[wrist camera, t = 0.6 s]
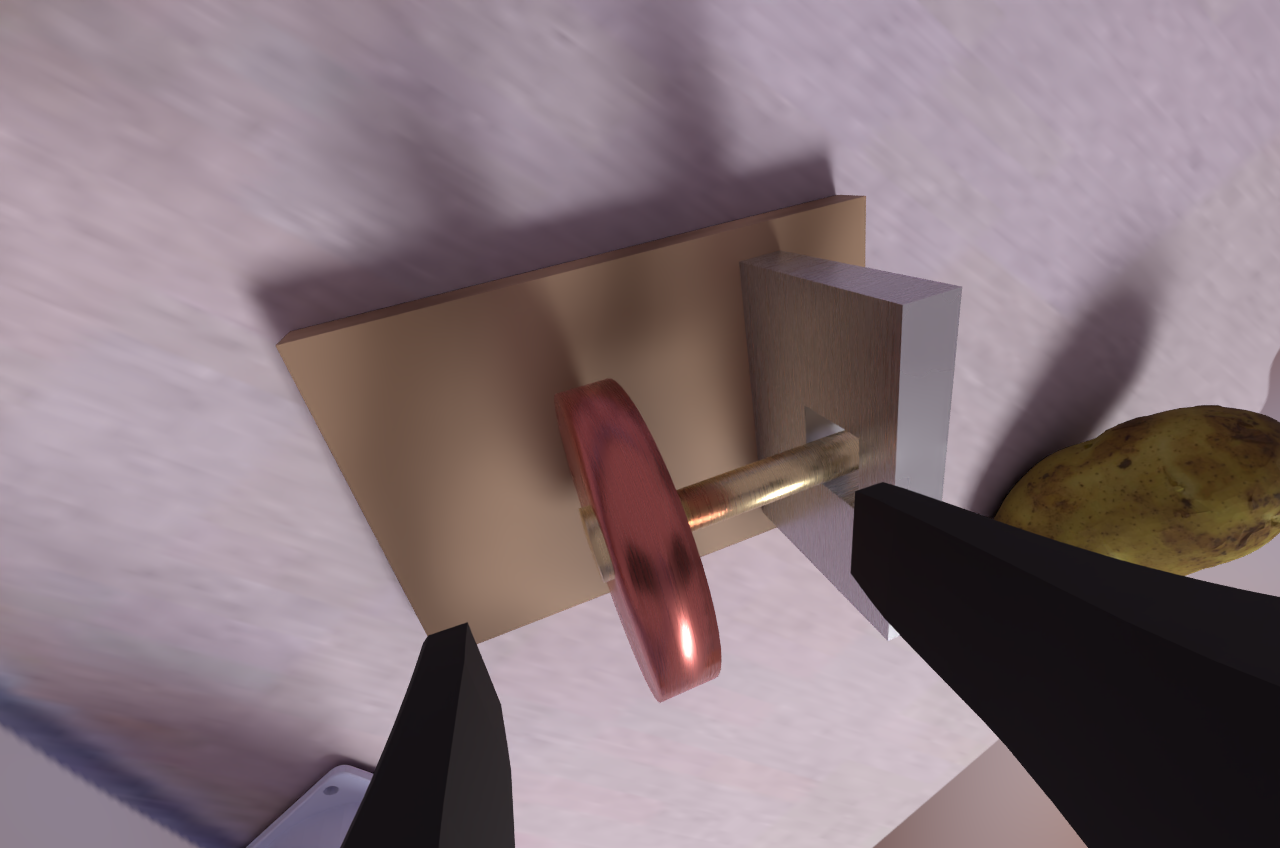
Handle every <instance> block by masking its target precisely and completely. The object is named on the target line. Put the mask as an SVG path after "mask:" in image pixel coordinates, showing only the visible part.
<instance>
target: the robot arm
mask: <svg viewBox="0 0 1280 848" xmlns="http://www.w3.org/2000/svg"><path fill="white" fill-rule="evenodd" d="M850 573H851V575H852V576H853V577H854V579H855V580H856V582H857V583H858V584H859V586H860V587H861V588H862V590H863V591H864V593H865V594H866V595H867V597H868V598H869V599H870V601H871V602H872V603H873V604H874V606H875V607H876V608H877V610H878V611H879V612H880V613H881V615H882V616H883V617H884V619H885V620H886V621H887V622H888V623H889V624H890V625H891V626H892V627H893V628H894V629H895V630H896V631H897V632H898V634H899V635H900V636H901V637H902V638H903V639H904V640H905V641H906V642H907V643H908V644H909V645H910V646H911V647H912V648H913V649H914V650H915V651H916V652H917V653H918V654H919V655H920V656H921V657H922V659H923V660H924V661H925V662H926V663H927V664H928V665H929V666H930V667H931V668H932V669H933V670H934V671H935V672H936V673H937V674H938V675H939V676H940V677H941V678H942V679H943V680H944V681H945V682H946V683H947V684H948V685H949V686H950V687H951V688H952V689H953V690H954V691H955V692H956V693H957V694H958V695H959V696H960V698H961V699H962V700H963V701H964V702H965V703H966V704H967V705H968V706H969V707H970V708H971V709H972V710H973V711H974V712H975V713H976V714H977V715H978V716H979V717H980V718H981V719H982V720H983V721H984V722H985V723H986V724H987V726H988V727H989V728H990V729H991V730H992V731H993V732H994V733H995V734H996V735H997V737H998V738H999V739H1000V740H1001V741H1002V742H1003V743H1004V744H1005V745H1006V746H1007V748H1008V749H1009V750H1010V751H1011V752H1012V754H1013V755H1014V756H1015V757H1016V758H1017V760H1018V761H1019V762H1020V763H1021V765H1022V766H1023V767H1024V768H1025V769H1026V771H1027V772H1028V773H1029V774H1030V776H1031V777H1032V778H1033V779H1034V780H1035V782H1036V783H1037V784H1038V785H1039V786H1040V788H1041V789H1042V790H1043V791H1044V792H1045V794H1046V795H1047V796H1048V797H1049V798H1050V799H1051V801H1052V802H1053V803H1054V805H1055V806H1056V807H1057V809H1058V810H1059V811H1060V812H1061V814H1062V815H1063V816H1064V817H1065V819H1066V820H1067V821H1068V823H1069V824H1070V825H1071V827H1072V828H1073V829H1074V830H1075V831H1076V833H1077V834H1078V835H1079V837H1080V838H1081V839H1082V840H1083V842H1084V843H1085V844H1086V846H1087V847H1088V848H1280V597H1277V596H1272V595H1267V594H1261V593H1256V592H1251V591H1246V590H1242V589H1237V588H1233V587H1228V586H1223V585H1219V584H1214V583H1210V582H1206V581H1201V580H1197V579H1193V578H1189V577H1185V576H1181V575H1177V574H1173V573H1169V572H1165V571H1161V570H1157V569H1154V568H1150V567H1146V566H1142V565H1138V564H1134V563H1130V562H1127V561H1123V560H1120V559H1116V558H1112V557H1109V556H1106V555H1102V554H1099V553H1096V552H1092V551H1089V550H1086V549H1082V548H1079V547H1076V546H1073V545H1069V544H1066V543H1063V542H1059V541H1056V540H1053V539H1050V538H1047V537H1044V536H1041V535H1038V534H1035V533H1032V532H1029V531H1026V530H1023V529H1020V528H1017V527H1014V526H1011V525H1008V524H1005V523H1002V522H999V521H996V520H994V519H991V518H988V517H985V516H982V515H979V514H976V513H974V512H971V511H968V510H965V509H962V508H960V507H957V506H954V505H951V504H948V503H945V502H943V501H940V500H937V499H934V498H931V497H928V496H925V495H923V494H920V493H917V492H914V491H911V490H908V489H905V488H902V487H898V486H895V485H892V484H888V483H885V482H881V483H878V484H875V485H872V486H869V487H866V488H863V489H860V490H857V491H855V502H854V519H853V537H852V554H851V572H850ZM246 848H515V838H514V818H513V799H512V780H511V767H510V760H509V753H508V747H507V740H506V733H505V727H504V721H503V715H502V708H501V704H500V701H499V699H498V696H497V694H496V691H495V689H494V686H493V684H492V681H491V679H490V676H489V674H488V671H487V669H486V666H485V664H484V661H483V659H482V656H481V654H480V651H479V649H478V647H477V644H476V642H475V639H474V637H473V634H472V632H471V629H470V627H469V624H468V622H466V623H463V624H460V625H457V626H454V627H451V628H449V629H446V630H443V631H440V632H437V633H434V634H431V635H428V637H427V638H426V640H425V641H424V643H423V645H422V649H421V652H420V655H419V658H418V661H417V663H416V666H415V669H414V672H413V675H412V678H411V681H410V683H409V686H408V689H407V692H406V694H405V697H404V700H403V702H402V705H401V707H400V710H399V713H398V715H397V718H396V721H395V723H394V726H393V728H392V731H391V733H390V735H389V738H388V740H387V743H386V745H385V748H384V750H383V752H382V755H381V757H380V760H379V762H378V764H377V767H376V769H375V772H374V774H373V773H370V772H367V771H364V770H361V769H359V768H356V767H353V766H350V765H340V766H337V767H335V768H333V769H332V770H330V771H329V772H328V773H327V774H326V775H325V776H324V777H323V778H321V779H320V780H319V781H318V782H317V783H316V784H315V785H314V786H313V787H312V788H311V789H309V790H308V791H307V792H306V793H305V794H304V795H303V796H302V797H301V798H300V799H298V800H297V801H296V802H295V803H294V804H293V805H292V806H291V807H290V808H289V809H287V810H286V811H285V812H284V813H283V814H282V815H281V816H280V817H279V818H278V819H277V820H275V821H274V822H273V823H272V824H271V825H270V826H269V827H268V828H267V829H266V830H264V831H263V832H262V833H261V834H260V835H259V836H258V837H257V838H256V839H255V840H253V841H252V842H251V843H250V844H249V845H248V846H247V847H246Z"/></svg>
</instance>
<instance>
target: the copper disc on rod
mask: <svg viewBox="0 0 1280 848" xmlns="http://www.w3.org/2000/svg"><path fill="white" fill-rule="evenodd" d="M554 405H555V412H556V417H557V422H558V426H559V430H560V435H561V439H562V442H563V446H564V450H565V454H566V457H567V461H568V465H569V468H570V472H571V475H572V478H573V482H574V485H575V488H576V492H577V495H578V498H579V501H580V505H581V508H579V514H580V518H581V522H582V525H583V529H584V532H585V535H586V538H587V541H588V544H589V547H590V550H591V553H592V556H593V559H594V562H595V564H596V567H597V570H598V572H599V575H600V577H601V580H602V582H603V583H605V582H607V585H608V588H609V590H610V593H611V596H612V599H613V601H614V604H615V607H616V609H617V612H618V615H619V617H620V620H621V623H622V625H623V628H624V630H625V633H626V635H627V638H628V640H629V643H630V645H631V648H632V650H633V653H634V655H635V658H636V660H637V662H638V664H639V667H640V669H641V671H642V673H643V676H644V678H645V680H646V682H647V684H648V686H649V688H650V690H651V692H652V693H653V695H654V697H655V698H656V700H657V701H658V702H663V701H665V700H667V699H669V698H672V697H674V696H676V695H678V694H681V693H683V692H685V691H687V690H690V689H692V688H694V687H697V686H699V685H701V684H703V683H706V682H708V681H710V680H712V679H715V678H716V677H718V675H719V673H720V670H721V645H720V638H719V631H718V626H717V620H716V615H715V610H714V606H713V602H712V598H711V594H710V590H709V586H708V583H707V579H706V575H705V572H704V568H703V565H702V562H701V559H700V555H699V552H698V549H697V546H696V543H695V540H694V537H693V534H692V532H695V531H697V530H700V529H703V528H705V527H708V526H711V525H713V524H716V523H719V522H721V521H724V520H727V519H729V518H732V517H734V516H737V515H740V514H742V513H745V512H748V511H750V510H753V509H756V508H758V507H761V506H764V505H766V504H769V503H772V502H774V501H777V500H779V499H782V498H785V497H787V496H790V495H793V494H795V493H798V492H801V491H803V490H806V489H809V488H811V487H814V486H817V485H819V484H822V483H825V482H827V481H830V480H832V479H835V478H838V477H840V476H843V475H846V474H848V473H851V472H854V471H856V470H859V438H857V437H856V436H854V435H852V434H851V433H849V432H848V431H846V430H843V431H840V432H837V433H835V434H832V435H829V436H826V437H823V438H821V439H818V440H815V441H812V442H809V443H807V444H804V445H801V446H798V447H795V448H793V449H790V450H787V451H784V452H781V453H779V454H776V455H773V456H770V457H767V458H765V459H762V460H759V461H756V462H753V463H751V464H748V465H745V466H742V467H739V468H737V469H734V470H731V471H728V472H725V473H723V474H720V475H717V476H714V477H711V478H709V479H706V480H703V481H700V482H697V483H695V484H692V485H689V486H686V487H683V488H681V489H678V490H676V488H675V486H674V483H673V481H672V479H671V476H670V474H669V471H668V469H667V467H666V464H665V462H664V460H663V458H662V456H661V453H660V451H659V449H658V447H657V445H656V443H655V441H654V439H653V437H652V435H651V433H650V431H649V429H648V427H647V425H646V423H645V421H644V420H643V418H642V416H641V414H640V412H639V411H638V409H637V407H636V406H635V404H634V403H633V401H632V400H631V398H630V397H629V395H628V394H627V393H626V391H625V390H624V389H623V388H622V386H620V385H619V384H618V383H617V382H616V381H615V380H613V379H611V378H607V379H603V380H600V381H597V382H593V383H590V384H587V385H583V386H580V387H577V388H573V389H570V390H567V391H564V392H560V393H557V394H555V395H554Z"/></svg>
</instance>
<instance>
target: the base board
mask: <svg viewBox="0 0 1280 848" xmlns="http://www.w3.org/2000/svg"><path fill="white" fill-rule="evenodd" d="M865 228H866V196H853V195H835V196H831V197H827V198H823V199H819V200H815V201H811V202H807V203H803V204H799V205H795V206H791V207H787V208H783V209H779V210H775V211H771V212H767V213H763V214H759V215H755V216H751V217H747V218H743V219H739V220H735V221H731V222H727V223H723V224H719V225H715V226H711V227H707V228H703V229H699V230H695V231H691V232H687V233H683V234H679V235H675V236H671V237H667V238H663V239H659V240H655V241H651V242H647V243H643V244H639V245H635V246H631V247H627V248H623V249H619V250H615V251H611V252H607V253H603V254H599V255H595V256H591V257H587V258H583V259H579V260H575V261H571V262H567V263H563V264H559V265H555V266H551V267H547V268H543V269H539V270H535V271H531V272H527V273H523V274H519V275H515V276H511V277H506V278H502V279H498V280H494V281H490V282H486V283H482V284H478V285H474V286H470V287H466V288H462V289H458V290H454V291H450V292H446V293H442V294H438V295H434V296H430V297H426V298H422V299H418V300H414V301H410V302H406V303H402V304H398V305H394V306H390V307H386V308H382V309H378V310H374V311H370V312H366V313H362V314H358V315H354V316H350V317H346V318H342V319H338V320H334V321H330V322H326V323H322V324H318V325H314V326H310V327H306V328H302V329H298V330H294V331H290V332H289V333H288V334H287V335H286V336H285V337H284V338H283V339H282V340H281V341H280V342H279V343H278V344H277V345H276V347H277V349H278V351H279V353H280V355H281V357H282V359H283V361H284V363H285V365H286V367H287V368H288V370H289V372H290V374H291V376H292V378H293V380H294V382H295V384H296V386H297V388H298V389H299V391H300V393H301V395H302V397H303V399H304V401H305V403H306V405H307V407H308V409H309V410H310V412H311V414H312V416H313V418H314V420H315V422H316V424H317V426H318V428H319V430H320V431H321V433H322V435H323V437H324V439H325V441H326V443H327V445H328V447H329V449H330V451H331V452H332V454H333V456H334V458H335V460H336V462H337V464H338V466H339V468H340V470H341V472H342V474H343V475H344V477H345V479H346V481H347V483H348V485H349V487H350V489H351V491H352V493H353V495H354V496H355V498H356V500H357V502H358V504H359V506H360V508H361V510H362V512H363V514H364V516H365V517H366V519H367V521H368V523H369V525H370V527H371V529H372V531H373V533H374V535H375V537H376V538H377V540H378V542H379V544H380V546H381V548H382V550H383V552H384V554H385V556H386V558H387V560H388V561H389V563H390V565H391V567H392V569H393V571H394V573H395V575H396V577H397V579H398V581H399V582H400V584H401V586H402V588H403V590H404V592H405V594H406V596H407V598H408V600H409V602H410V603H411V605H412V607H413V609H414V611H415V613H416V615H417V617H418V619H419V621H420V623H421V624H422V626H423V628H424V630H425V632H426V634H427V636H428V635H431V634H434V633H437V632H440V631H443V630H446V629H449V628H451V627H454V626H457V625H460V624H463V623H466V622H468V624H469V627H470V629H471V632H472V634H473V637H474V639H475V642H476V644H479V643H481V642H484V641H486V640H489V639H491V638H494V637H497V636H499V635H502V634H504V633H507V632H509V631H512V630H515V629H517V628H520V627H522V626H525V625H527V624H530V623H533V622H535V621H538V620H540V619H543V618H545V617H548V616H551V615H553V614H556V613H558V612H561V611H563V610H566V609H569V608H571V607H574V606H576V605H579V604H581V603H584V602H586V601H589V600H592V599H594V598H597V597H599V596H602V595H604V594H607V593H610V590H609V588H608V585H607V582H605V583H603V582H602V580H601V577H600V575H599V572H598V570H597V567H596V564H595V562H594V559H593V556H592V553H591V550H590V547H589V544H588V541H587V538H586V535H585V532H584V529H583V525H582V522H581V518H580V514H579V508H581V505H580V501H579V498H578V495H577V492H576V488H575V485H574V482H573V478H572V475H571V472H570V468H569V465H568V461H567V457H566V454H565V450H564V446H563V442H562V439H561V435H560V430H559V426H558V422H557V417H556V412H555V405H554V395H555V394H557V393H560V392H564V391H567V390H570V389H573V388H577V387H580V386H583V385H587V384H590V383H593V382H597V381H600V380H603V379H607V378H611V379H613V380H615V381H616V382H617V383H618V384H619V385H620V386H622V388H623V389H624V390H625V391H626V393H627V394H628V395H629V397H630V398H631V400H632V401H633V403H634V404H635V406H636V407H637V409H638V411H639V412H640V414H641V416H642V418H643V420H644V421H645V423H646V425H647V427H648V429H649V431H650V433H651V435H652V437H653V439H654V441H655V443H656V445H657V447H658V449H659V451H660V453H661V456H662V458H663V460H664V462H665V464H666V467H667V469H668V471H669V474H670V476H671V479H672V481H673V483H674V486H675V488H676V490H678V489H681V488H683V487H686V486H689V485H692V484H695V483H697V482H700V481H703V480H706V479H709V478H711V477H714V476H717V475H720V474H723V473H725V472H728V471H731V470H734V469H737V468H739V467H742V466H745V465H748V464H751V463H753V462H756V461H758V455H757V444H756V434H755V423H754V413H753V403H752V392H751V382H750V371H749V361H748V350H747V340H746V329H745V319H744V308H743V298H742V287H741V277H740V267H739V261H743V260H747V259H750V258H754V257H758V256H762V255H765V254H769V253H773V252H777V251H780V250H781V251H786V252H791V253H796V254H801V255H806V256H811V257H816V258H821V259H826V260H831V261H836V262H841V263H846V264H851V265H856V266H861V267H865ZM774 528H777V527H776V525H775V524H774V523H773V522H772V521H771V520H770V519H769V518H768V517H767V516H766V515H765V514H764V513H763V507H762V506H761V507H758V508H756V509H753V510H750V511H748V512H745V513H742V514H740V515H737V516H734V517H732V518H729V519H727V520H724V521H721V522H719V523H716V524H713V525H711V526H708V527H705V528H703V529H700V530H697V531H695V532H692V534H693V537H694V540H695V543H696V546H697V549H698V552H699V555H700V557H702V556H705V555H707V554H710V553H712V552H715V551H717V550H720V549H723V548H725V547H728V546H730V545H733V544H735V543H738V542H741V541H743V540H746V539H748V538H751V537H753V536H756V535H759V534H761V533H764V532H766V531H769V530H771V529H774Z"/></svg>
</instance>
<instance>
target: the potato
mask: <svg viewBox="0 0 1280 848" xmlns="http://www.w3.org/2000/svg"><path fill="white" fill-rule="evenodd" d="M994 520H996V521H999V522H1002V523H1005V524H1008V525H1011V526H1014V527H1017V528H1020V529H1023V530H1026V531H1029V532H1032V533H1035V534H1038V535H1041V536H1044V537H1047V538H1050V539H1053V540H1056V541H1059V542H1063V543H1066V544H1069V545H1073V546H1076V547H1079V548H1082V549H1086V550H1089V551H1092V552H1096V553H1099V554H1102V555H1106V556H1109V557H1112V558H1116V559H1120V560H1123V561H1127V562H1130V563H1134V564H1138V565H1142V566H1146V567H1150V568H1154V569H1157V570H1161V571H1165V572H1169V573H1173V574H1177V575H1181V576H1186V575H1188V574H1191V573H1194V572H1197V571H1199V570H1202V569H1205V568H1209V567H1214V566H1217V565H1219V564H1222V563H1226V562H1230V561H1232V560H1235V559H1238V558H1241V557H1244V556H1246V555H1248V554H1250V553H1252V552H1254V551H1256V550H1257V549H1259V548H1261V547H1262V546H1264V545H1265V544H1266V543H1268V542H1269V541H1271V540H1272V539H1273V538H1274V537H1275V536H1276V535H1278V534H1279V533H1280V422H1278V421H1277V420H1275V419H1273V418H1270V417H1268V416H1266V415H1263V414H1259V413H1255V412H1251V411H1247V410H1242V409H1235V408H1227V407H1222V406H1219V405H1201V406H1195V407H1187V408H1178V409H1174V410H1169V411H1164V412H1160V413H1156V414H1153V415H1149V416H1143V417H1138V418H1135V419H1132V420H1129V421H1126V422H1124V423H1121V424H1118V425H1117V426H1115V427H1113V428H1110V429H1108V430H1106V431H1105V432H1104V433H1102V434H1101V435H1099V436H1098V437H1097V438H1095V439H1092V440H1089V441H1086V442H1083V443H1080V444H1076V445H1073V446H1070V447H1067V448H1064V449H1062V450H1059V451H1057V452H1055V453H1053V454H1051V455H1049V456H1048V457H1046V458H1045V459H1043V460H1042V461H1040V462H1039V463H1037V464H1036V465H1035V466H1034V467H1033V468H1032V469H1031V470H1030V471H1029V472H1027V473H1026V474H1025V475H1024V476H1023V477H1022V478H1021V479H1020V480H1019V481H1018V483H1017V484H1016V485H1015V486H1014V487H1013V488H1012V490H1011V491H1010V492H1009V494H1008V495H1007V497H1006V498H1005V500H1004V501H1003V503H1002V505H1001V507H1000V509H999V511H998V512H997V514H996V516H995V517H994Z"/></svg>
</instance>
